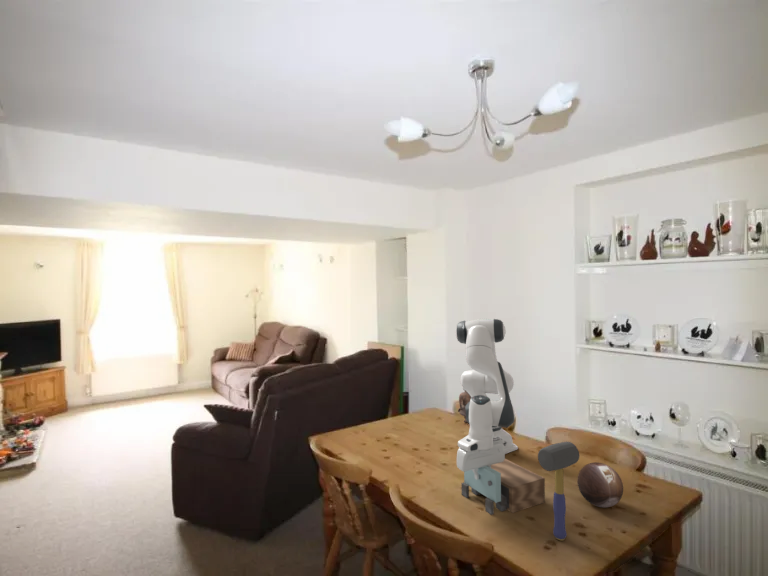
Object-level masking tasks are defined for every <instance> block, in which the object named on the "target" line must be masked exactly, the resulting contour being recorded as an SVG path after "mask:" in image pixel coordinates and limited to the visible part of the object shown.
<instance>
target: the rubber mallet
mask: <svg viewBox="0 0 768 576" xmlns="http://www.w3.org/2000/svg"><path fill="white" fill-rule="evenodd" d="M537 459H538V462H539V465H540V466H541V468H543V469H544V470H545V471H549V472H553V471H554V493H553V497H552V500H553V501H552V502H553V503H552V508H553V509H552V510H553V520H554V522H553V529H552V532H553V536H554V538H555V539H556V540H558V541H564V540H565V539H566V538H567V536H568V535H567V530H566V512H567V511H566V510H567V503H566V497H565V496H566V495H565V493H564V469H565V468H568V467H570V466H572V465H574V464H576V463H577V462H579V460H580V451H579V449H578V447H577V446H576V445H575V444H574V443H573V442H571V441H562V442H557V443H554V444H550V445H547V446H545V447H543V448H541V449H539V450H538V452H537Z"/></svg>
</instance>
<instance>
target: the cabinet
mask: <svg viewBox="0 0 768 576" xmlns="http://www.w3.org/2000/svg"><path fill="white" fill-rule="evenodd" d="M491 468H492V469H494V470H496V471H498V472H499V473H501V501H500V502H497V503H495V502H494V501H492V500H491V499H489V498H487V497H486V498H484V499H485V501H484V502H485V505H484V507H485V512H486V513H487V514H489V515H490V516H492V515H494V514H495V511H494V510H495V509H497V510H498V511H500V512H505V511H509V512H510V513H512V514H513V513H516V512H519V511H523V510H525V509H527V508H532V507H534V506H537V505H541V504H544V503H546V489H545V488H546V485H545V484H546V483H545V481H546V480H545V479H546V478H545V477H544V476H541V475H540V474H537V473H535V472H534V471H531V470H529V469H528V468H525V467H523V466H520V465H519V464H517V463H515V462H514V461H512V460H511V461H510V460H509V459H507V458H505V459H504V461H503V462H501V463H497V464H493V465H491ZM470 488H471V493H472V494H474V495H475V496H478V495H482V494H481V493H479V492H478V491H476V490H475V489H473V488H472V487H470V486H469V485H467V484H466V483H464V482H461V496H463V497H464V498H466V499H468V498H470ZM494 504H495V507H494Z"/></svg>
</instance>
